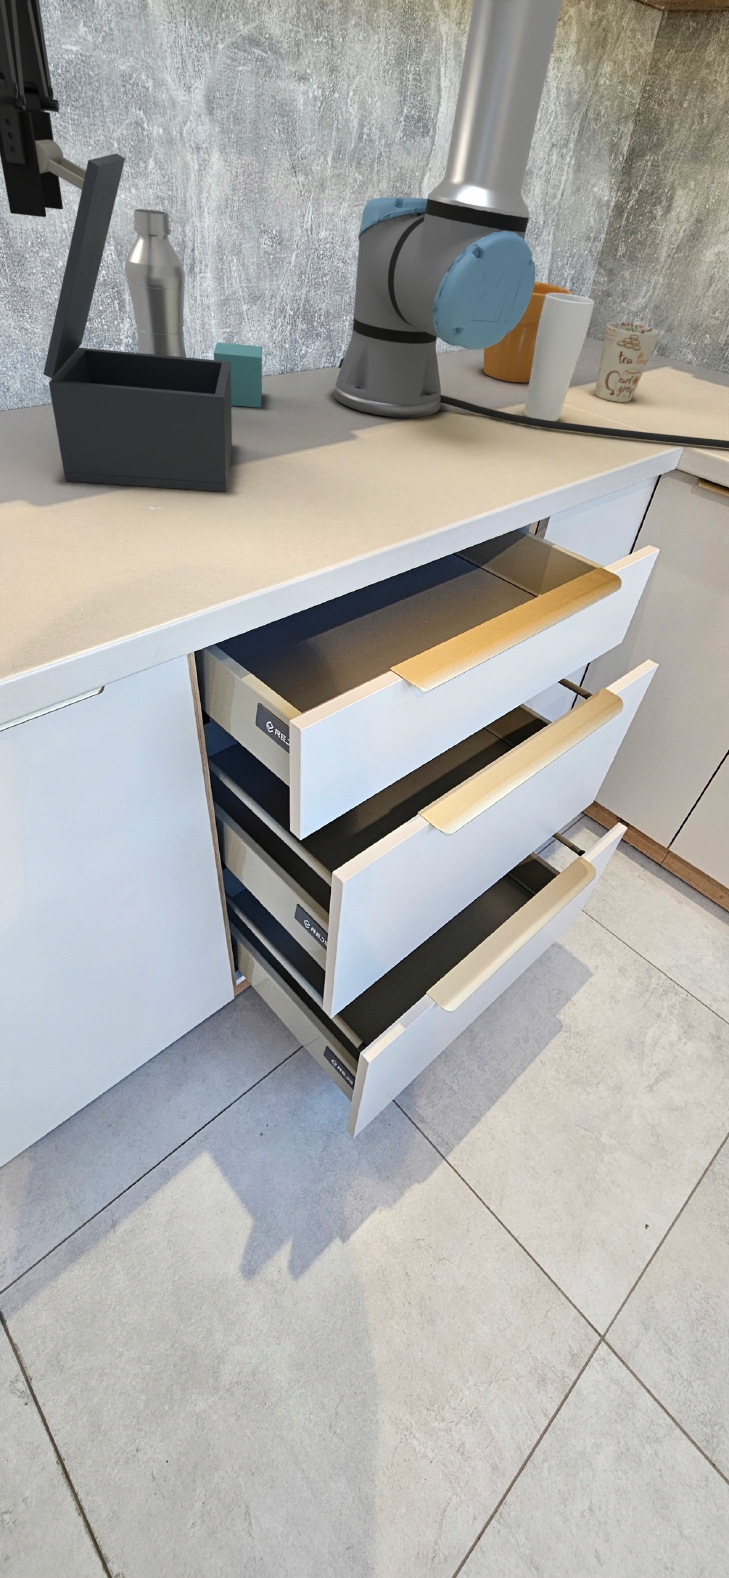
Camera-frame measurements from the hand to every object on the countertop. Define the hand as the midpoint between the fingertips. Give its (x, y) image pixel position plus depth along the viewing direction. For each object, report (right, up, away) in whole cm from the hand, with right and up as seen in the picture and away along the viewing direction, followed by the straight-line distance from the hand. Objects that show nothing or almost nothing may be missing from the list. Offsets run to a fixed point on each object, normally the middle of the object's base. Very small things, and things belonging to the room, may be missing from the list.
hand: (37, 210), depth 64 cm
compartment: (+6, -15, +15) cm, 22 cm away
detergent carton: (+12, +2, +35) cm, 37 cm away
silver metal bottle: (+4, -3, +28) cm, 29 cm away
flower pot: (+54, +20, +62) cm, 85 cm away
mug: (+71, +16, +60) cm, 94 cm away
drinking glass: (+55, +4, +44) cm, 71 cm away
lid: (+3, -3, +3) cm, 5 cm away
